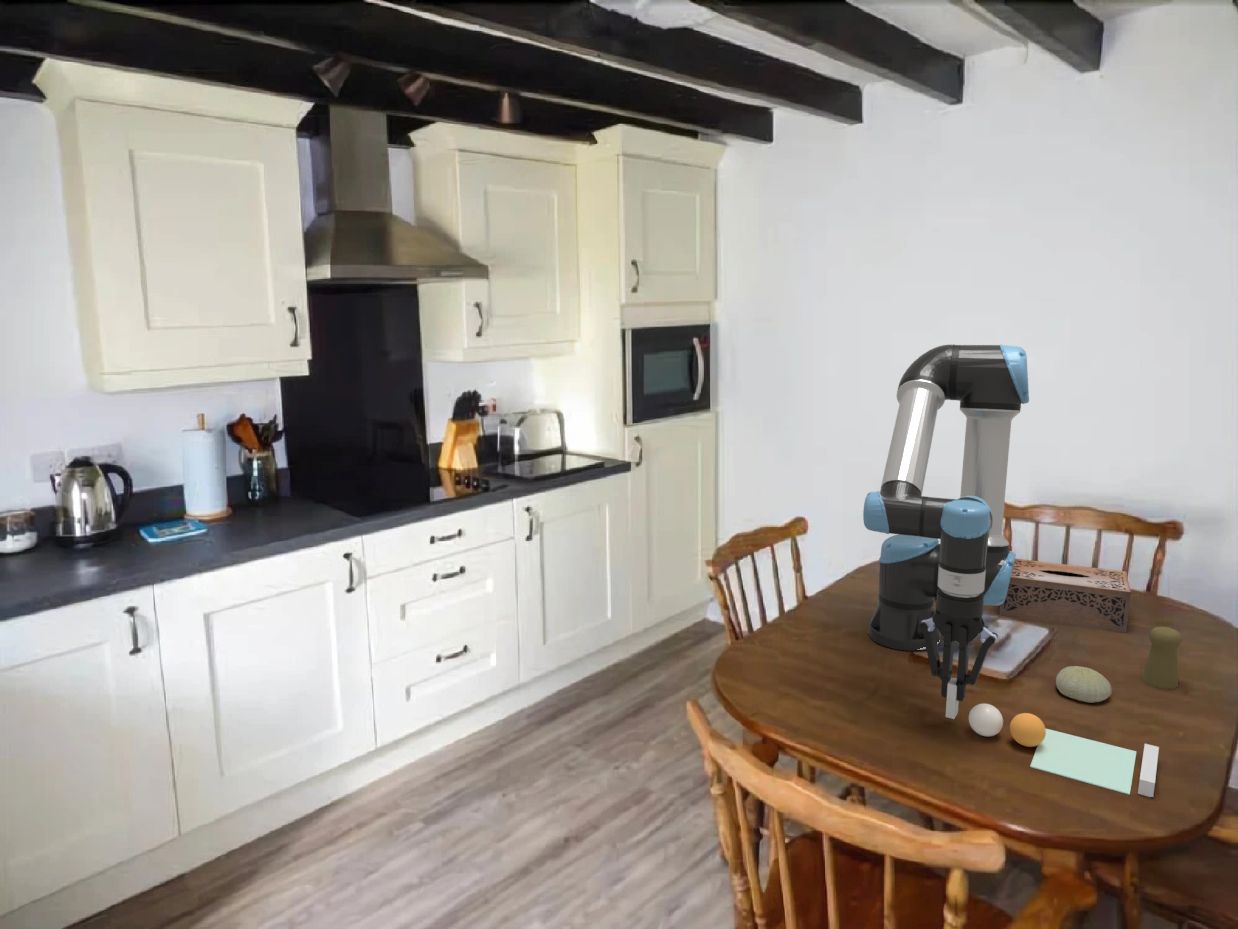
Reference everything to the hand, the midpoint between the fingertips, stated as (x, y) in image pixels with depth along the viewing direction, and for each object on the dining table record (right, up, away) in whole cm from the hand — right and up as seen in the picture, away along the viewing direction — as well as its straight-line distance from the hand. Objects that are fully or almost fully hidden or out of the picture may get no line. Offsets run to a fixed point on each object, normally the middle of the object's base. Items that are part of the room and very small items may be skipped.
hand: (951, 714), depth 150 cm
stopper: (+25, -5, -16) cm, 30 cm away
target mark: (+17, -4, -11) cm, 21 cm away
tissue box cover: (+45, +9, +48) cm, 67 cm away
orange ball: (+10, 0, -7) cm, 12 cm away
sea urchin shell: (+29, +1, +10) cm, 31 cm away
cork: (+46, +2, +14) cm, 49 cm away
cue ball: (+5, 0, -4) cm, 6 cm away
